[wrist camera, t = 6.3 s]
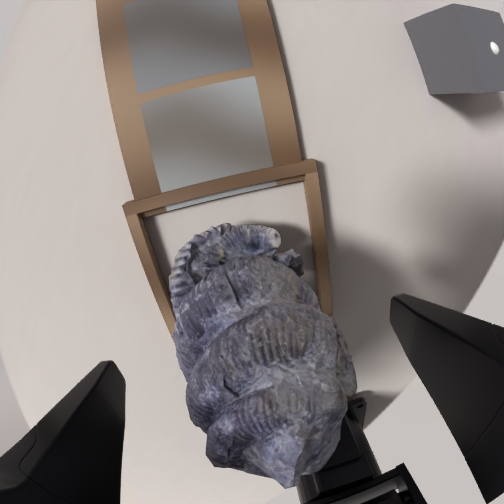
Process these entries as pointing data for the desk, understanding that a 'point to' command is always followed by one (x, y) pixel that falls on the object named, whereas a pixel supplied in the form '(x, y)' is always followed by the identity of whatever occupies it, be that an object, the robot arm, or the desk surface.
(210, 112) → the board
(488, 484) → the robot arm
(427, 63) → the die
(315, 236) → the frame
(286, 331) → the seashell
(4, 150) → the desk surface
